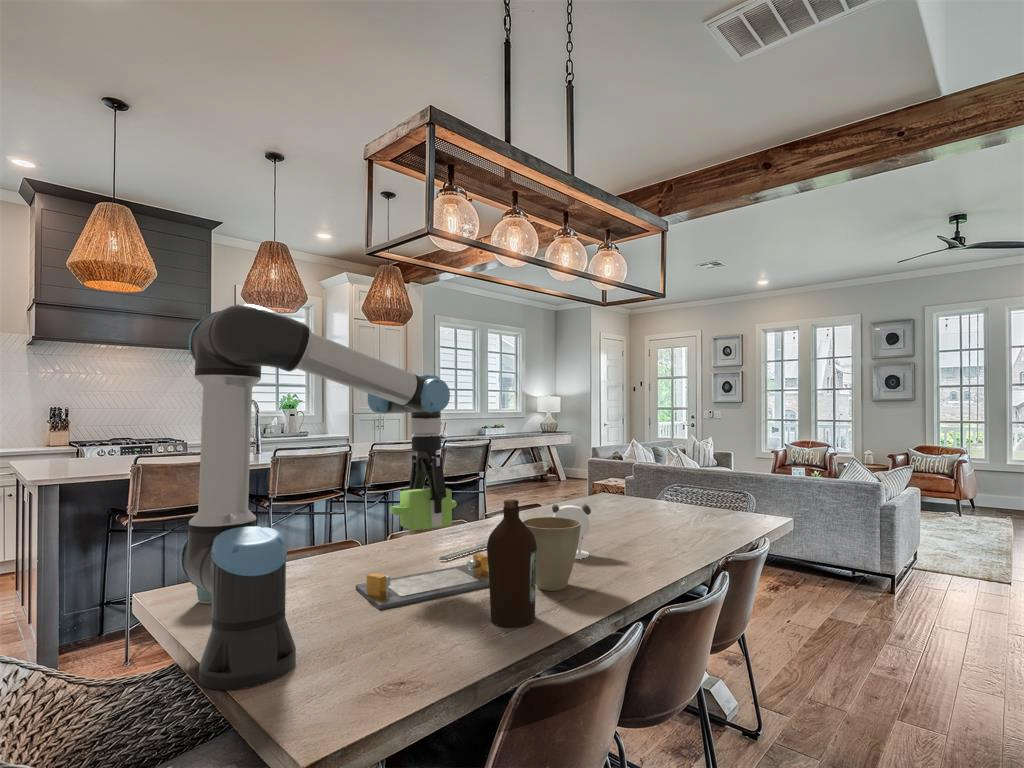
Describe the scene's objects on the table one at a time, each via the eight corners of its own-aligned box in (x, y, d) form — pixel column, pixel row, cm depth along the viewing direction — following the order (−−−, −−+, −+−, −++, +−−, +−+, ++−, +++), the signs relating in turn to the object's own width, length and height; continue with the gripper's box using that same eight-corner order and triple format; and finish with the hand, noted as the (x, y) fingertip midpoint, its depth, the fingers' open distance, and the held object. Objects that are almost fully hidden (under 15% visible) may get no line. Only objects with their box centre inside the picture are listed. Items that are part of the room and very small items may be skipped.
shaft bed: (504, 583, 141) (504, 561, 142) (379, 609, 124) (379, 585, 124) (471, 567, 157) (471, 547, 157) (355, 588, 139) (355, 566, 139)
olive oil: (486, 629, 112) (484, 504, 113) (489, 610, 122) (487, 496, 123) (538, 629, 111) (536, 504, 113) (537, 610, 122) (535, 496, 123)
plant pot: (546, 600, 128) (545, 531, 129) (511, 584, 140) (510, 521, 141) (594, 588, 136) (593, 523, 137) (557, 574, 149) (556, 514, 149)
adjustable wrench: (443, 564, 162) (443, 558, 162) (429, 560, 166) (429, 554, 167) (502, 547, 180) (502, 542, 180) (489, 544, 185) (489, 539, 185)
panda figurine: (589, 550, 174) (588, 502, 175) (593, 559, 163) (592, 508, 163) (551, 550, 174) (550, 502, 175) (552, 560, 163) (551, 508, 164)
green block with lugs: (448, 520, 150) (448, 484, 151) (467, 524, 142) (466, 486, 143) (386, 528, 139) (386, 490, 140) (402, 532, 131) (402, 492, 132)
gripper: (459, 435, 134) (461, 528, 133) (422, 433, 153) (422, 514, 152) (431, 437, 130) (432, 532, 129) (396, 434, 149) (397, 517, 148)
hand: (427, 522), depth 141 cm, fingers closed on green block with lugs, 10 cm apart
